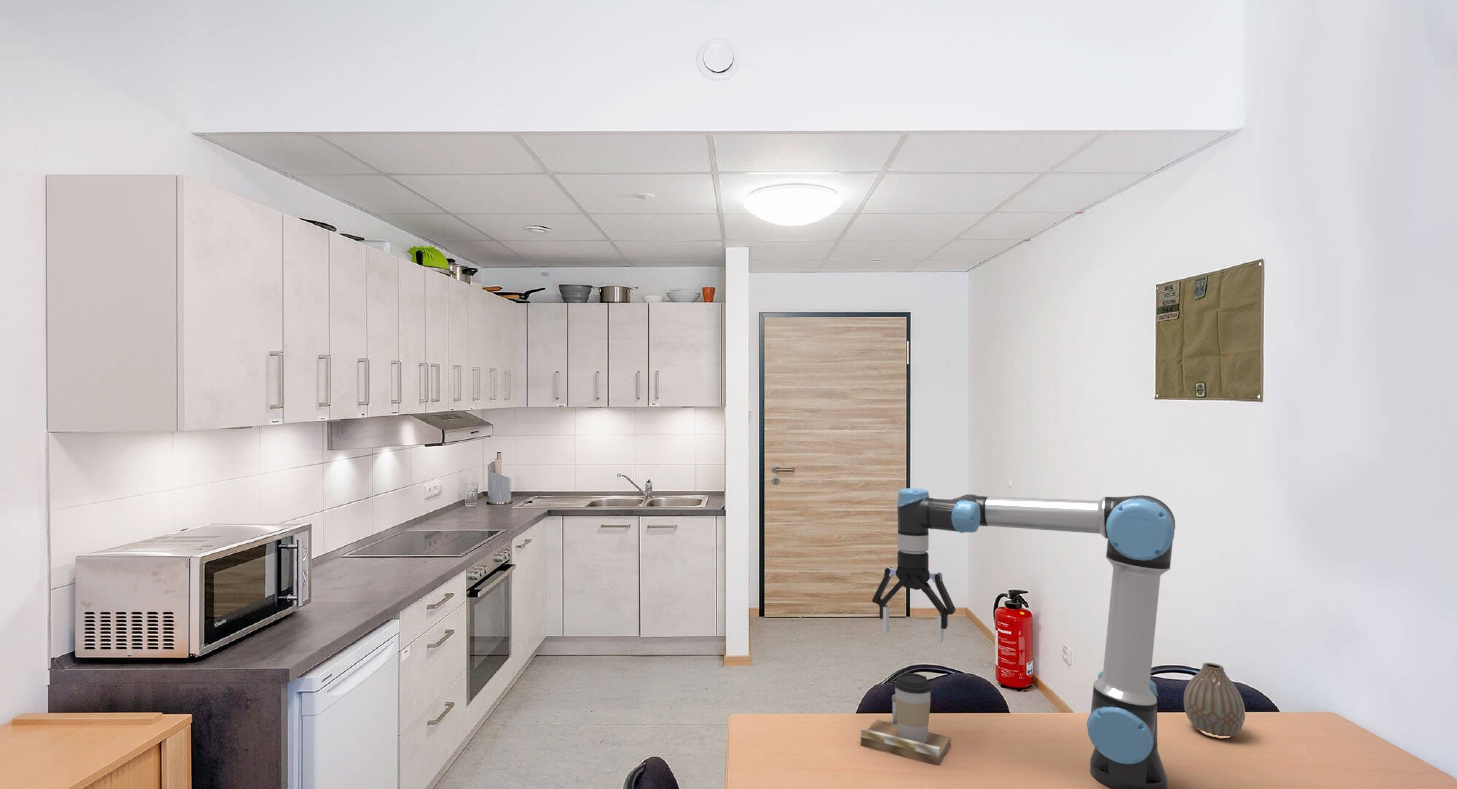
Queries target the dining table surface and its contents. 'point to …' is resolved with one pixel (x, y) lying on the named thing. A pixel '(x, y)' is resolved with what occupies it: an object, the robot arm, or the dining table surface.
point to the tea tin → (894, 710)
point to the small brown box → (905, 743)
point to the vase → (1214, 702)
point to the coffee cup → (912, 706)
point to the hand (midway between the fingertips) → (912, 637)
